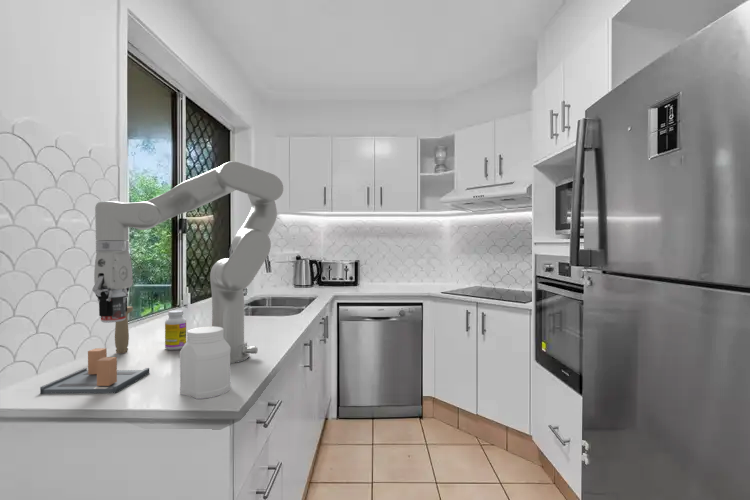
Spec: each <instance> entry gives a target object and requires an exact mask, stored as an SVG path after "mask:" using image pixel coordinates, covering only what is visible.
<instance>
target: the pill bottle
mask: <svg viewBox="0 0 750 500" xmlns="http://www.w3.org/2000/svg"><path fill="white" fill-rule="evenodd" d="M104 289H109V288H107V287H104ZM105 293H106V295H107V292H105ZM126 298H127V297H126V295H125V293H124V292H123V291H122V289H119V290H113V292H112V297H111V301H113V315H112V316H100V322H102V323H110V324H111V323H116V322H119V321H123V320H125V319H126Z"/></svg>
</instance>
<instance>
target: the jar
mask: <svg viewBox="0 0 750 500" xmlns="http://www.w3.org/2000/svg"><path fill="white" fill-rule="evenodd" d="M230 351H231V348H230V346H229V344H228V343H227V342H226V340H225V339H224V337H223V328H222V327H212V326H199V327H194V328H191V329H188V330H186V343H185V345H184V346H183V348H182V349H180V351H179V368H180V369H179V378H180V381H179V382H180V383H179V386H180V387H179V394H180V395H183V396H189V397H192V398H194V399H196V400H204V399H209V398H211V399H212V398H215V397H218V396H222V395H224V394H226V393H228V392H229V391H230V389H231V388H232V387H231V386H232V385H231V384H232V383H231V363H230ZM221 394H222V395H221Z"/></svg>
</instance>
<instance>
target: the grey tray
mask: <svg viewBox="0 0 750 500" xmlns="http://www.w3.org/2000/svg"><path fill="white" fill-rule="evenodd" d="M148 375H150V368H149V367H145V368H144V369H131V370H130V369H117V382H115V383H113V384H112V385H110V386H97V374H88V367H87V368H86V367H84V368H81V369H79V370H77V371H74V372H72V373H69V374H67V375H65V376H63V377H60V378H58V379H56V380H54V381H51V382H49V383H47V384H44V385H42V386H40V387H39V390H40V391H39V392H40V394H41V395H44V394H45V395H46V394H49V395H51V394H58V395H59V394H61V395H62V394H117V393H119V392H121V391H122V390H123V389H125V388H128V387H129V386H131V385H132V384H134V383H135V382H138V381H139V380H141V379H143V378H144V377H146V376H148Z"/></svg>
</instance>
